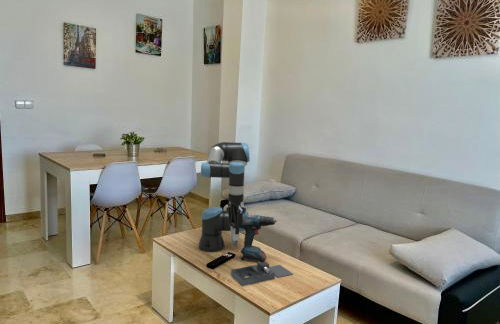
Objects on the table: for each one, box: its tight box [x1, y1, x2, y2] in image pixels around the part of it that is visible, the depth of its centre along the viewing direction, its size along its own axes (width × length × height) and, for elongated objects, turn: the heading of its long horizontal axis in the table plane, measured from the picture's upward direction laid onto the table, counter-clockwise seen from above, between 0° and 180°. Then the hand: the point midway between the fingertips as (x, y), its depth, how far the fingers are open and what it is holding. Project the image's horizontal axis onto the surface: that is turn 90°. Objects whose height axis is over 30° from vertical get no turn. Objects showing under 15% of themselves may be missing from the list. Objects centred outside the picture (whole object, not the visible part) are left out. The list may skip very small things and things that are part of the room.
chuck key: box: [229, 222, 238, 247], centre depth 194 cm, size 4×6×12 cm, turn 118°
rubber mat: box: [269, 264, 294, 279], centre depth 197 cm, size 12×9×1 cm
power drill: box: [240, 214, 278, 263], centre depth 210 cm, size 9×23×25 cm, turn 78°
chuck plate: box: [230, 261, 276, 287], centre depth 189 cm, size 12×18×6 cm, turn 119°
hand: (234, 238), depth 194 cm, fingers closed on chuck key, 3 cm apart
